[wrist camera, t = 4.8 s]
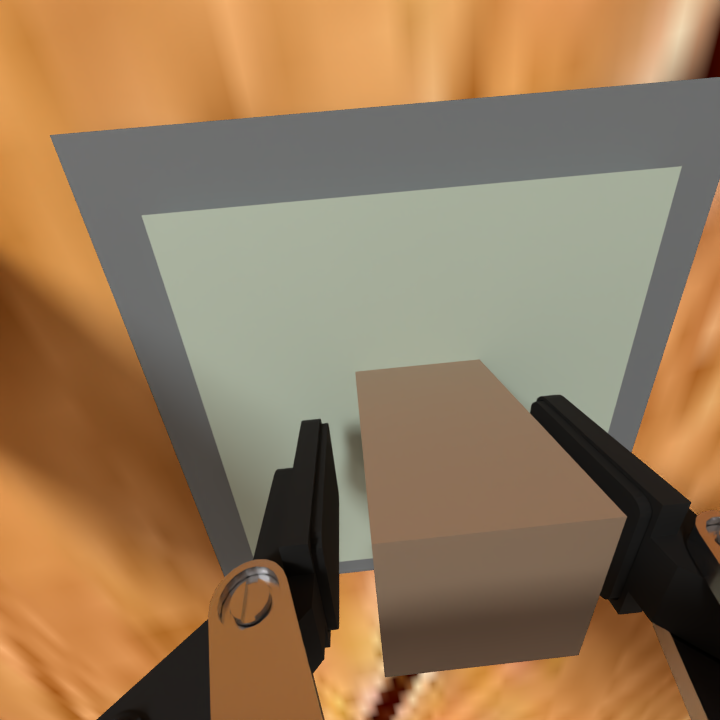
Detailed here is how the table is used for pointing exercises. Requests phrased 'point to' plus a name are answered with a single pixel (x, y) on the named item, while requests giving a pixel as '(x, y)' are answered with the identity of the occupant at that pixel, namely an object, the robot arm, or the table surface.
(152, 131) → the mat
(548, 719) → the table surface
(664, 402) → the table surface
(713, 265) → the table surface
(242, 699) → the robot arm
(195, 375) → the lid
